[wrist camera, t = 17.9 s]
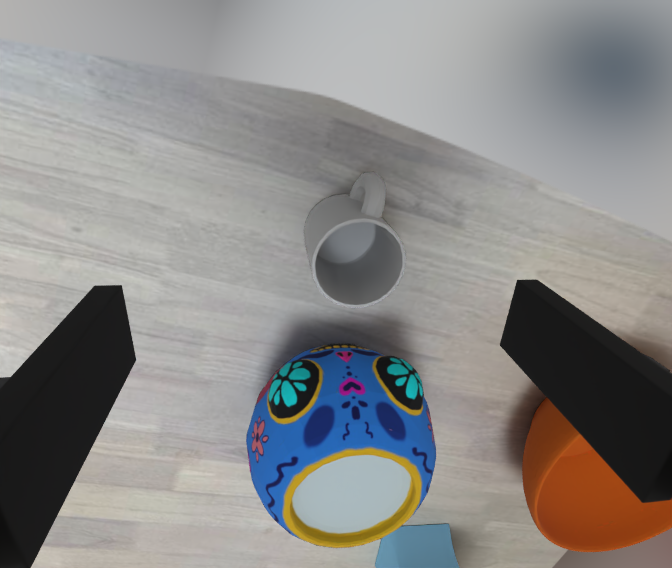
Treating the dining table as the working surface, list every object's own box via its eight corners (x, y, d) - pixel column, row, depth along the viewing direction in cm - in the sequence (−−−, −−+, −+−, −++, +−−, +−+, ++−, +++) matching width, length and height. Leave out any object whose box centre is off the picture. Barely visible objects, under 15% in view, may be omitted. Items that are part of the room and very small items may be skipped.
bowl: (570, 502, 61) (622, 571, 52) (451, 449, 53) (489, 521, 44) (702, 383, 54) (788, 439, 45) (590, 300, 46) (668, 349, 37)
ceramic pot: (414, 311, 43) (479, 407, 30) (396, 436, 50) (441, 560, 37) (247, 315, 40) (235, 423, 27) (253, 447, 48) (246, 584, 34)
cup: (293, 255, 38) (299, 296, 30) (325, 151, 35) (341, 166, 27) (363, 273, 40) (385, 316, 32) (399, 176, 37) (435, 197, 29)
